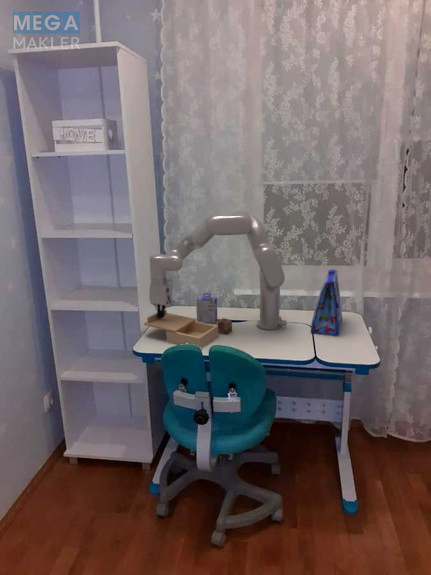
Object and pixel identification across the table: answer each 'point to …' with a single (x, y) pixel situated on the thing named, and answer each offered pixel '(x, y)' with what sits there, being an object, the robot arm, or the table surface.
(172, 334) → the mailer box
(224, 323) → the walnut block
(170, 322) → the lid
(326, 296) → the lunch bag
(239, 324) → the table surface
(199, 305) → the ink cartridge box
